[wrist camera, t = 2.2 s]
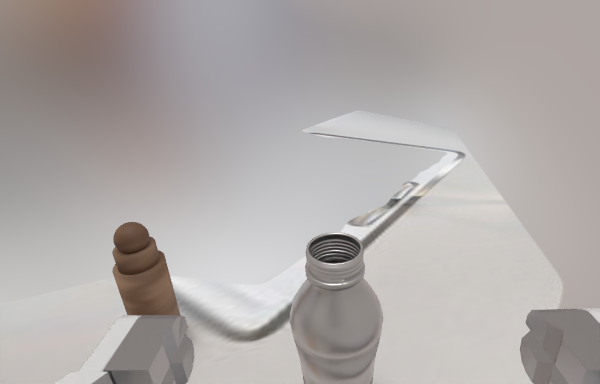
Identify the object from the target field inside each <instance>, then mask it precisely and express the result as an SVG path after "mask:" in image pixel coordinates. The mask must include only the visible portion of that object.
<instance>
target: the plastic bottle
mask: <svg viewBox="0 0 600 384" xmlns="http://www.w3.org/2000/svg"><path fill="white" fill-rule="evenodd" d="M306 259H307V263H306V266H305V268H306V277H307V280H306V281H305V282H304V283H303V285H302V286H301V287H300V289H299V290H298V292H297V293H296V295H295V297H294V300H293V304H292V308H291V312H290V324H291V329H292V333H293V336H294V340H295V343H296V346H297V350H298V353H299V357H300V361H301V367H302V373H303V379H304V384H372V381H373V371H374V361H375V356H376V352H377V348H378V344H379V340H380V335H381V330H382V322H383V313H382V309H381V306H380V303H379V300H378V297H377V295H376V294H375V292H374V291H373V289H372V288H371V287H370V285H369V284H368V283H367V281H366V280H365V279H364V278H363V277H364V273H365V266H364V262H363V246H362V243H361V242H360V241H359V240H358V239H357V238H356V237H354V236H352V235H349V234H345V233H326V234H322V235H319V236H317V237H315V238H314V239H312V240H311V241H310V242H309V243H308V245H307V249H306Z"/></svg>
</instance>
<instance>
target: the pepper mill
mask: <svg viewBox="0 0 600 384" xmlns="http://www.w3.org/2000/svg"><path fill="white" fill-rule="evenodd" d="M114 244H115V246H116V247H115V248H114V250H113V256H114V259H115V262H116V264H115V266H114V267H113V274H114V277H115V280H116V283H117V286H118V289H119V292H120V295H121V298H122V300H123V303H124V306H125V309H126V312H127V315H137V316H143V315H180V312H179V309H178V305H177V301H176V297H175V293H174V290H173V286H172V282H171V278H170V275H169V271H168V267H167V264H166V259H165V256H164V254H163V253H162V252H161V251H158V250H157V246H156V242H155V240H154V239H153V238H152V237H149V233H148V231H147V229H146V228H145V227H144V226H143V225H141V224H139V223H136V222H128V223H125V224H123V225H121V226H120V227H119V228H118V229H117V230H116V232H115V234H114Z"/></svg>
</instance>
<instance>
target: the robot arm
mask: <svg viewBox="0 0 600 384" xmlns="http://www.w3.org/2000/svg"><path fill="white" fill-rule="evenodd" d="M526 324H527V326H528V327H529V329H530V330H531V331H530V332H528V333H527V334H526V335H525V336H524V337H523V338H522V341H521V346H520V352H521V359H522V363H523V366H524V368H525V371H526V373H527V375H528V376H529V378H530V380H531V381H532V383H534V384H600V308H587V309H586V308H584V309H551V310H532V311H531V312H530V313H529V314H528V316H527V320H526ZM187 328H188V326H187V323H186V320H185V317H183V316H180V315H143V316H137V315H124V316H122V317H120V318H119V319H118V320H117V321H116V322H115V323H114V325H113V326H112V327H111V329H110V330H109V332H108V333H107V334H106V336H105V337H104V338H103V340H102V341H101V342H100V344H99V345H98V346H97V348H96V349H95V350H94V352H93V353H92V354H91V356H90V357H89V358H88V360H87V361H86V362H85V364H84V365H83V366H82V368H81V369H80V371H79V372H71V373H70V374H68V375H67V376H65V377H64V378H62V379H61V380H59V381H58V382H56V383H54V384H185V383H187V382H188V380H189V377H190V374H191V372H192V367H193V361H194V348H193V344H192V341H191V340H190V339H189V338H188V337H187V336H186V335H185V333H186V330H187Z"/></svg>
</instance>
